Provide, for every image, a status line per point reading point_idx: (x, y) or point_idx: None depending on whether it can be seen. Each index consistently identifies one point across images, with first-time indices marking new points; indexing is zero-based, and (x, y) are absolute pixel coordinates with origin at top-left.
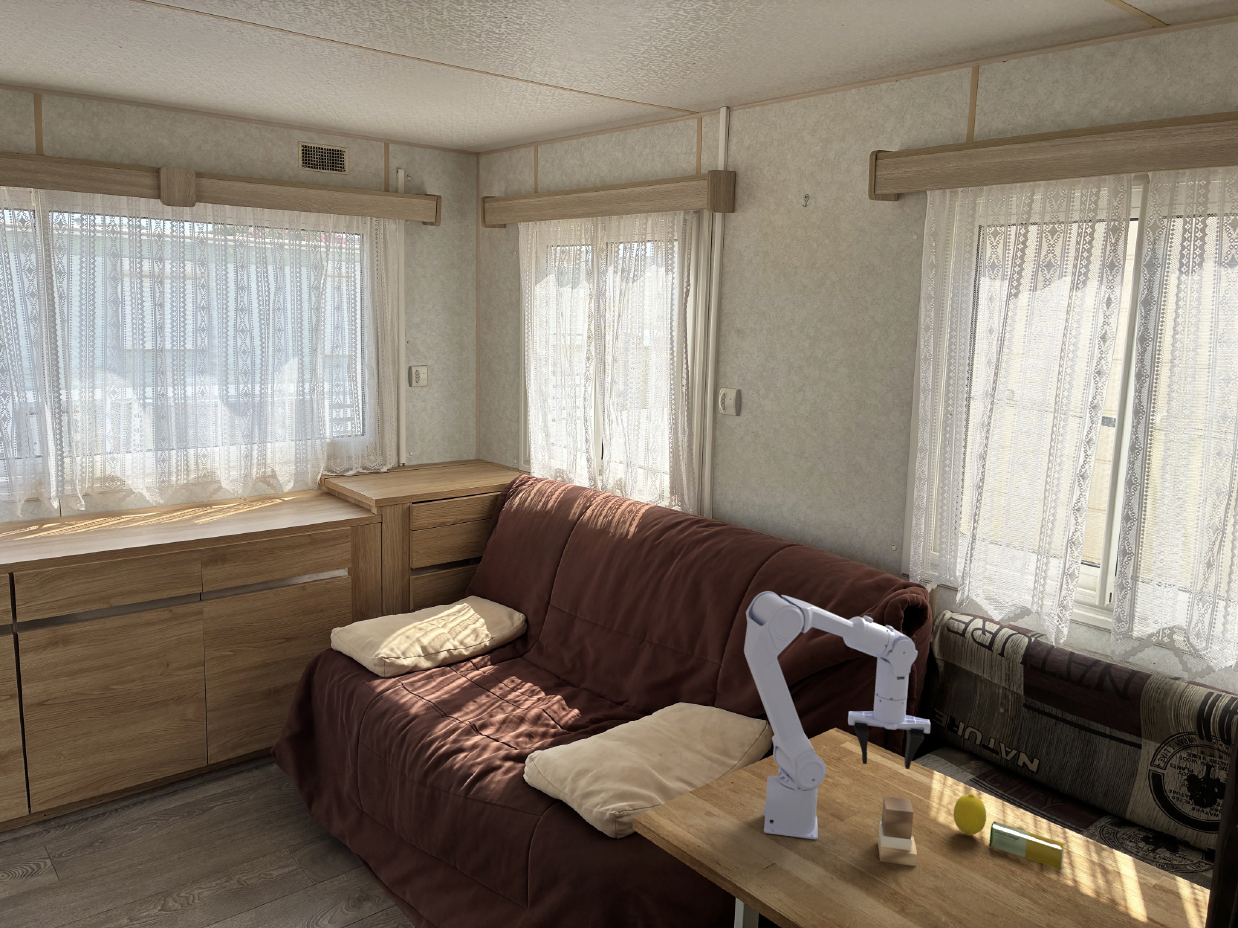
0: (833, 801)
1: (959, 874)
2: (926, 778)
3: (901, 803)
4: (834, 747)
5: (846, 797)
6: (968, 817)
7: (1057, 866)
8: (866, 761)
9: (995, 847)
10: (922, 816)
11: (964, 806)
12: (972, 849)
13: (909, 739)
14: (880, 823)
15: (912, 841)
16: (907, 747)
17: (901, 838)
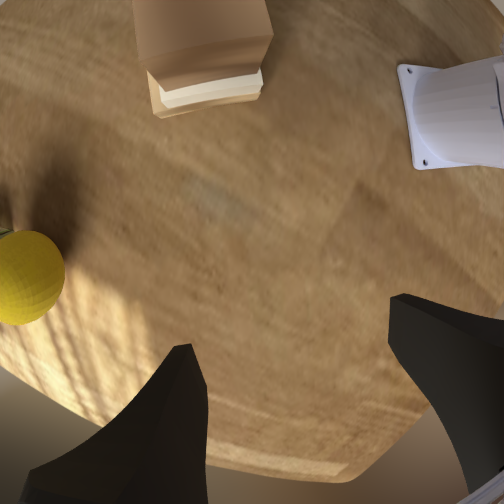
0: (381, 275)
1: (58, 61)
2: None
3: (181, 6)
4: (358, 455)
5: (352, 309)
6: (11, 237)
7: None
8: (400, 299)
9: (4, 228)
10: (158, 302)
11: (7, 257)
12: (34, 192)
13: (153, 498)
14: (260, 71)
15: (155, 81)
16: (189, 452)
17: None
